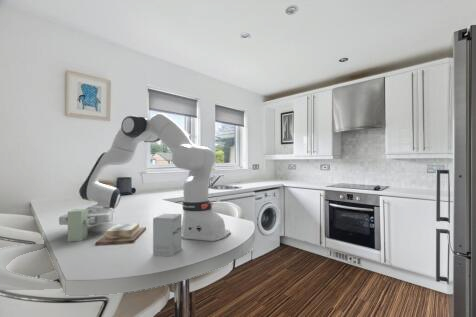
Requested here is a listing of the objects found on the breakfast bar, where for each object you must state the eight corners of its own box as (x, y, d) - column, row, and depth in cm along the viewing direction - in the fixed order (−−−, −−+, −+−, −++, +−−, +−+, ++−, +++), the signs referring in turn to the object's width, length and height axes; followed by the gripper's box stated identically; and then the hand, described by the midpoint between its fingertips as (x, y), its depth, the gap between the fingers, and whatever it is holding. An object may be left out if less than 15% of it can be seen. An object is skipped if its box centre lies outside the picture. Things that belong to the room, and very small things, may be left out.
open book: (146, 229, 106) (146, 220, 106) (133, 242, 88) (133, 232, 88) (114, 231, 104) (114, 222, 104) (95, 244, 86) (95, 234, 86)
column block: (87, 236, 96) (87, 208, 96) (81, 240, 91) (81, 211, 91) (74, 237, 95) (75, 209, 96) (67, 241, 90) (67, 211, 91)
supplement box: (172, 256, 74) (172, 218, 74) (152, 255, 75) (152, 217, 76) (182, 248, 81) (182, 213, 81) (163, 247, 83) (163, 213, 83)
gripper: (69, 209, 105) (49, 216, 91) (116, 207, 108) (102, 213, 94) (69, 222, 105) (49, 231, 91) (116, 220, 108) (102, 228, 94)
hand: (76, 222), depth 93 cm, fingers closed on column block, 5 cm apart
